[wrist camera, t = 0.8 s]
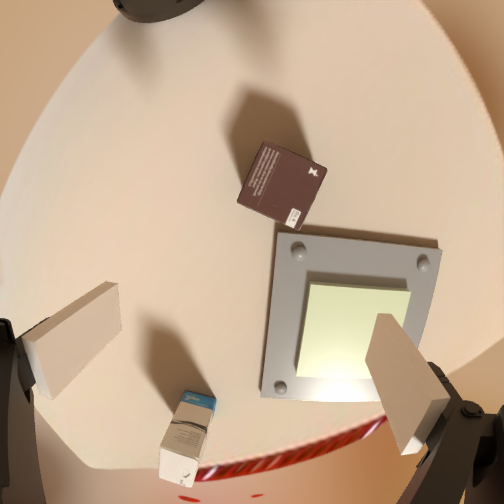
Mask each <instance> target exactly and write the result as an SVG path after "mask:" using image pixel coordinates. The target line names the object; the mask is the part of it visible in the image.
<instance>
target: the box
mask: <svg viewBox="0 0 504 504" xmlns="http://www.w3.org/2000/svg"><path fill="white" fill-rule="evenodd" d="M326 173H327V168H325V167H323V166H321V165H319V164H317V163H315V162H313V161H310V160H308V159H306V158H304V157H302V156H300V155H298V154H296V153H293V152H291V151H288V150H286V149H284V148H281V147H279V146H276V145H274V144H272V143H269V142H267V141H263V143H262V145H261V147H260V149H259V151H258V153H257V155H256V158H255V160H254V162H253V164H252V167H251V169H250V171H249V173H248V176H247V178H246V180H245V183H244V185H243V187H242V189H241V192H240V194H239V197H238V199H237V203H239V204H241V205H243V206H245V207H247V208H249V209H252V210H254V211H256V212H258V213H261V214H263V215H265V216H267V217H269V218H272V219H274V220H276V221H278V222H280V223H282V224H284V225H286V226H288V227H291V228H293V229H295V230H297V231H299V230H300V229H301V226H302V225H303V222H304V220H305V218H306V216H307V214H308V212H309V210H310V207H311V205H312V203H313V202H314V200H315V197H316V194H317V192H318V190H319V188H320V186H321V184H322V181H323V179H324V177H325V175H326Z"/></svg>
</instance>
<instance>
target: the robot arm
mask: <svg viewBox="0 0 504 504" xmlns="http://www.w3.org/2000/svg"><path fill="white" fill-rule="evenodd" d="M203 1H204V0H113V2H114V5H115V7H116V8H117V9H118V10H119V11H120V12H121V13H122V14H123V15H124V16H125V17H126V18H128V19H130V20H132V21H135V22H140V23H152V22H159V21H164V20H167V19H171V18H174V17H176V16H179V15H181V14H183V13H185V12H187V11H189V10H191V9H193V8H194V7H196V6H197V5H199V4H200V3H201V2H203ZM121 330H122V326H121V316H120V306H119V293H118V283H112V282H107V281H106V282H104V283H103V284H101V285H99V286H98V287H96V288H95V289H93V290H91V291H90V292H88V293H87V294H85V295H84V296H82V297H80V298H79V299H77V300H76V301H74V302H73V303H71V304H70V305H68V306H66V307H65V308H63V309H62V310H60V311H59V312H57V313H56V314H54V315H53V316H51V317H48V318H46V319H44V320H43V321H41V322H40V323H39V324H37V325H35V326H34V327H33V328H31V329H29V330H28V331H26V332H25V333H23V334H22V335H20V336H19V337H18V338H16V339H15V337H14V333H13V329H12V325H11V322H10V321H9V320H8V319H5V318H0V504H46V500H45V495H44V490H43V485H42V480H41V474H40V469H39V461H38V454H37V445H36V435H35V422H34V394H33V391H32V388H31V387H32V386H33V385H34V384H35V383H36V385H37V387H38V390H39V393H40V394H41V395H43V396H45V397H47V398H49V399H51V400H54V399H55V398H56V397H57V396H58V395H59V393H60V392H61V391H62V390H63V389H64V388H65V387H66V386H67V385H68V384H69V383H70V382H71V381H72V380H73V379H74V378H75V377H76V376H77V375H78V374H79V373H80V372H81V371H82V370H83V369H84V368H85V367H86V366H87V365H88V364H89V362H90V361H91V360H92V359H93V358H94V357H95V356H96V355H97V354H98V353H99V352H100V351H101V350H102V349H103V348H104V347H105V346H106V345H107V344H108V343H109V342H110V341H111V340H112V339H113V338H114V337H115V336H116V335H117V334H118V333H119V332H120V331H121ZM365 362H366V365H367V367H368V370H369V372H370V375H371V377H372V379H373V382H374V384H375V387H376V390H377V392H378V395H379V397H380V400H381V402H382V405H383V408H384V410H385V413H386V416H387V418H388V421H389V424H390V426H391V429H392V432H393V435H394V437H395V440H396V443H397V446H398V449H399V452H400V455H406V454H413V453H418V452H419V451H420V449H421V448H422V446H423V445H424V443H425V442H426V444H427V447H428V451H427V452H426V454H425V455H424V456H423V458H422V459H421V461H420V462H419V464H418V465H417V466H416V467H417V470H416V472H415V474H414V476H413V477H412V479H411V481H410V482H409V484H408V486H407V487H406V489H405V491H404V492H403V494H402V496H401V497H400V499H399V500H398V502H397V503H396V504H459V503H460V500H461V498H462V495H463V492H464V490H465V500H464V504H504V405H502V407H501V408H500V410H499V412H498V413H497V414H485V413H484V411H483V409H482V408H481V407H480V406H479V405H478V404H476V403H474V402H471V401H467V400H466V401H463V400H462V398H461V397H460V396H459V394H458V393H457V391H456V390H455V388H454V387H453V386H452V384H451V383H449V380H448V378H447V377H445V374H444V373H443V371H442V370H441V369H440V368H439V367H438V366H437V365H435V364H434V363H432V362H426V360H425V359H424V358H423V356H422V355H421V353H420V352H419V351H418V349H417V348H416V346H415V345H414V344H413V342H412V341H411V339H410V338H409V337H408V335H407V334H406V333H405V331H404V330H403V329H402V327H401V326H400V325H399V323H398V322H397V321H396V319H395V318H394V317H393V315H392V314H384V313H378V314H377V318H376V322H375V326H374V329H373V333H372V337H371V340H370V344H369V347H368V351H367V354H366V358H365ZM465 487H466V489H465Z"/></svg>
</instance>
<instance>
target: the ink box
mask: <svg viewBox="0 0 504 504" xmlns="http://www.w3.org/2000/svg"><path fill="white" fill-rule="evenodd" d="M215 405H216V399H215V398H211V397H208V396H204V395H200V394H196V393H193V392H189V391H185V392H184V395H183V397H182V399H181V401H180V403H179V405H178V408H177V410H176V412H175V414H174V416H173V419H172V421H171V423H170V425H169V427H168V429H167V432H166V434H165V436H164V438H163V440H162V443H161V445H160V453H159V476H158V477H159V478H162V479H165V480H168V481H171V482H174V483H177V484H179V485H182V486H186V487H189V488H191V487H192V486H193V482H194V479H195V476H196V473H197V470H198V467H199V464H200V461H201V458H202V455H203V451H204V448H205V445H206V442H207V438H208V435H209V432H210V428H211V423H212V419H213V414H214V410H215Z"/></svg>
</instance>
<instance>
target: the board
mask: <svg viewBox="0 0 504 504" xmlns="http://www.w3.org/2000/svg"><path fill="white" fill-rule="evenodd" d="M441 255H442V250H441V249H439V248H432V247H423V246H415V245H407V244H398V243H389V242H381V241H371V240H362V239H353V238H343V237H334V236H324V235H314V234H303V233H293V232H282V231H278V235H277V246H276V257H275V268H274V278H273V288H272V298H271V308H270V318H269V327H268V336H267V345H266V354H265V363H264V372H263V380H262V388H261V397H263V398H274V399H287V400H304V401H337V402H354V401H381V400H380V397H379V395H378V392H377V390H376V387H375V384H374V382H373V379H372V377H371V375H370V372H369V370H368V367H367V365H366V362H365V358H366V354H367V351H368V347H369V344H370V340H371V337H372V333H373V329H374V326H375V322H376V318H377V314H378V313H384V314H392V315H393V317H394V318H395V319H396V321H397V322H398V323H399V325H400V326H401V327H402V329H403V330H404V331H405V333H406V334H407V335H408V337H409V338H410V339H411V341H412V342H413V344H414V345H415V346H416V348H417V349H418V346H419V343H420V340H421V337H422V334H423V330H424V327H425V323H426V320H427V316H428V313H429V309H430V305H431V301H432V297H433V293H434V289H435V285H436V280H437V275H438V271H439V266H440V260H441Z"/></svg>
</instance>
